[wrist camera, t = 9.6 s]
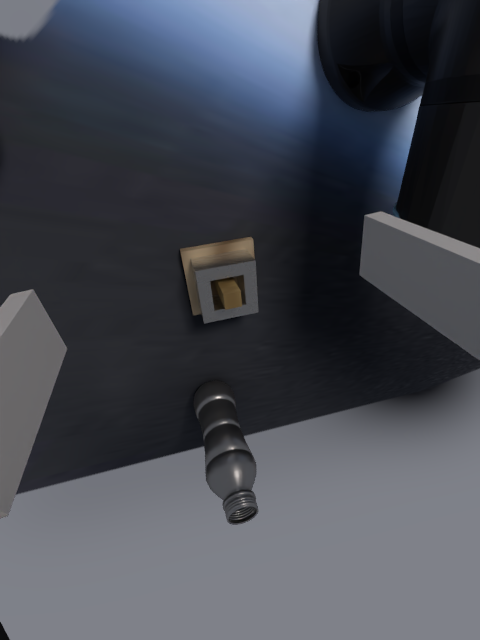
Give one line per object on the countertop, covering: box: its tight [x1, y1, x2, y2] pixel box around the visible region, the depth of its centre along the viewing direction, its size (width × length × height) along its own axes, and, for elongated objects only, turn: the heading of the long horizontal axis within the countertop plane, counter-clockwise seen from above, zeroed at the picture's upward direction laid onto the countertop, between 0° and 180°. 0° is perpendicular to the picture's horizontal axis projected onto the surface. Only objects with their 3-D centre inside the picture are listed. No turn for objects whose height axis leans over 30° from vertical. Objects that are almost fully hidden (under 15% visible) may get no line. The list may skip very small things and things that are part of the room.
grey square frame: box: [191, 249, 258, 324], centre depth 39 cm, size 7×7×4 cm
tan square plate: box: [180, 237, 254, 316], centre depth 38 cm, size 9×9×7 cm
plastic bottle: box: [193, 380, 258, 525], centre depth 43 cm, size 6×7×20 cm
